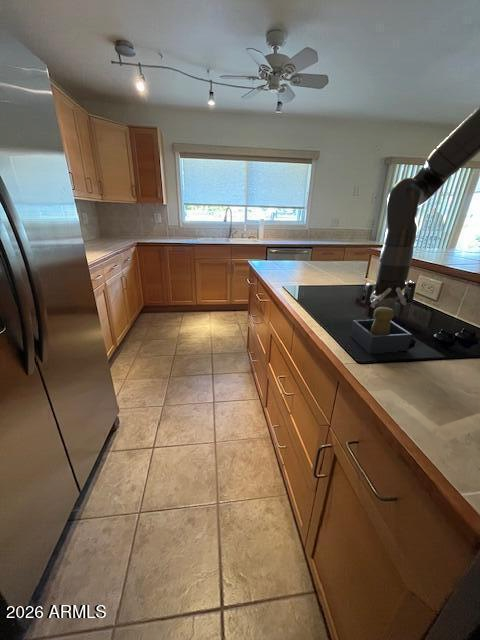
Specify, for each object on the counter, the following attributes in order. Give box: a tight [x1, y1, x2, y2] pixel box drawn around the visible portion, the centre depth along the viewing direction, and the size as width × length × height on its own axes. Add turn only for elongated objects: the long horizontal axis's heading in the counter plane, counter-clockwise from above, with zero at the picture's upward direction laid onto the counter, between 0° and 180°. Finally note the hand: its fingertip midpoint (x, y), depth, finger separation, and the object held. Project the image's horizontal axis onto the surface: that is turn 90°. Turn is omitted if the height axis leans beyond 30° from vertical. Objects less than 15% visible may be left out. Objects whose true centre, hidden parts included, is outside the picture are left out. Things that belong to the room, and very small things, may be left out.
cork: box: [370, 306, 395, 336], centre depth 78 cm, size 6×6×11 cm
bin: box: [349, 318, 413, 355], centre depth 79 cm, size 12×12×6 cm
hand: (383, 316), depth 77 cm, fingers open, 8 cm apart
